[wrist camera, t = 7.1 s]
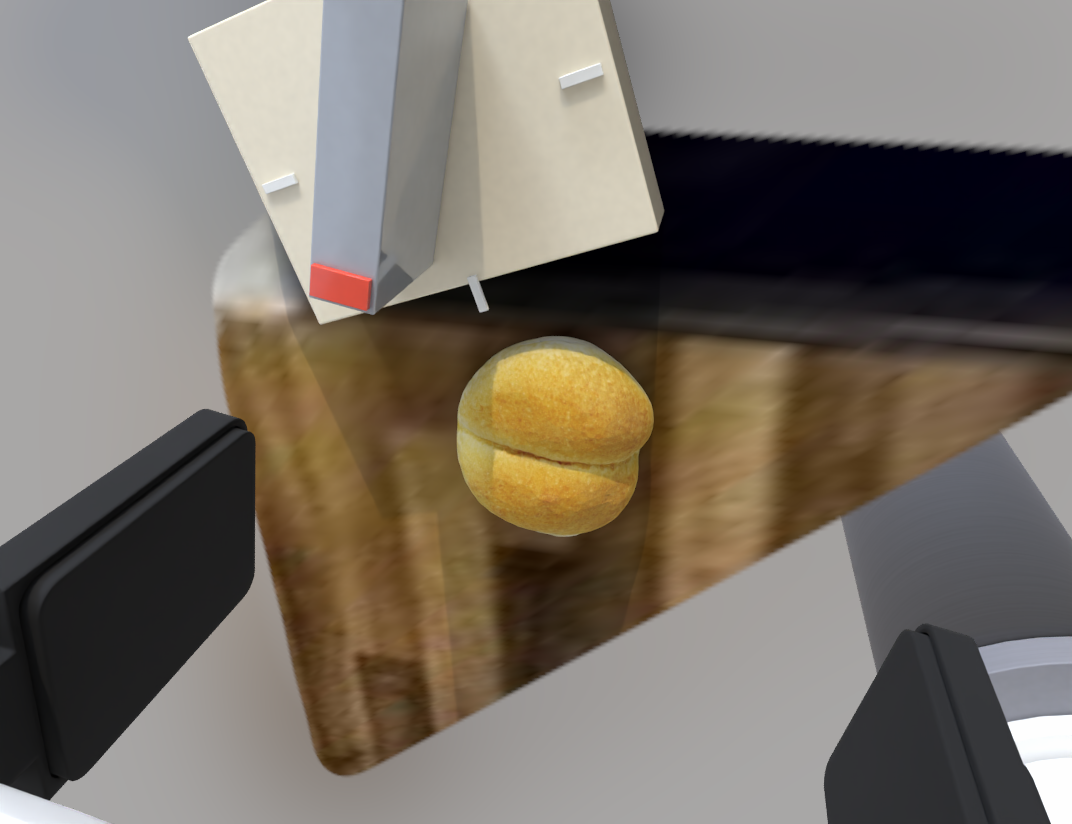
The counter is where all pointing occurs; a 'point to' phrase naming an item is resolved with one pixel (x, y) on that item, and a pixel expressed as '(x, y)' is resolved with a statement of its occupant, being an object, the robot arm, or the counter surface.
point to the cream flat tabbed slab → (459, 136)
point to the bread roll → (553, 435)
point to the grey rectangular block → (381, 145)
